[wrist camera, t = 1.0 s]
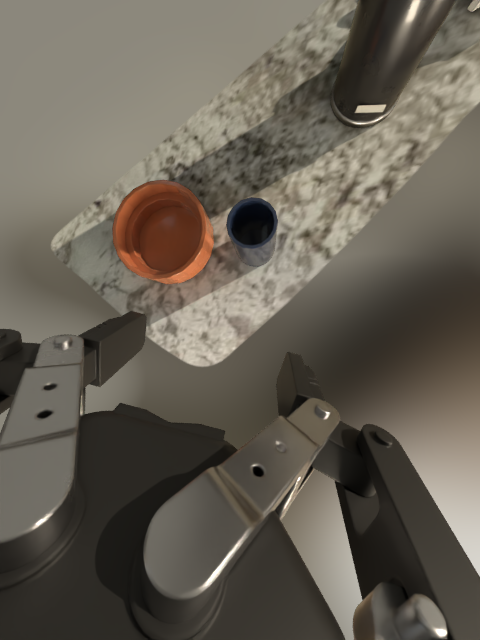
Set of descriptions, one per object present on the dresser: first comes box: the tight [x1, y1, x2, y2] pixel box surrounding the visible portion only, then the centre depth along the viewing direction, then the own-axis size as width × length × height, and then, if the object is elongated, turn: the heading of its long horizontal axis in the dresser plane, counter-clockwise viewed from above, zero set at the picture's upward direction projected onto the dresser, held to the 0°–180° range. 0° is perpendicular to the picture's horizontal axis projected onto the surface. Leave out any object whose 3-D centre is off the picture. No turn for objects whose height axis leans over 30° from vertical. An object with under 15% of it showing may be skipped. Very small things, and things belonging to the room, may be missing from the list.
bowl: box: [112, 180, 214, 284], centre depth 34 cm, size 14×14×5 cm
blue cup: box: [226, 197, 278, 267], centre depth 31 cm, size 6×6×9 cm
